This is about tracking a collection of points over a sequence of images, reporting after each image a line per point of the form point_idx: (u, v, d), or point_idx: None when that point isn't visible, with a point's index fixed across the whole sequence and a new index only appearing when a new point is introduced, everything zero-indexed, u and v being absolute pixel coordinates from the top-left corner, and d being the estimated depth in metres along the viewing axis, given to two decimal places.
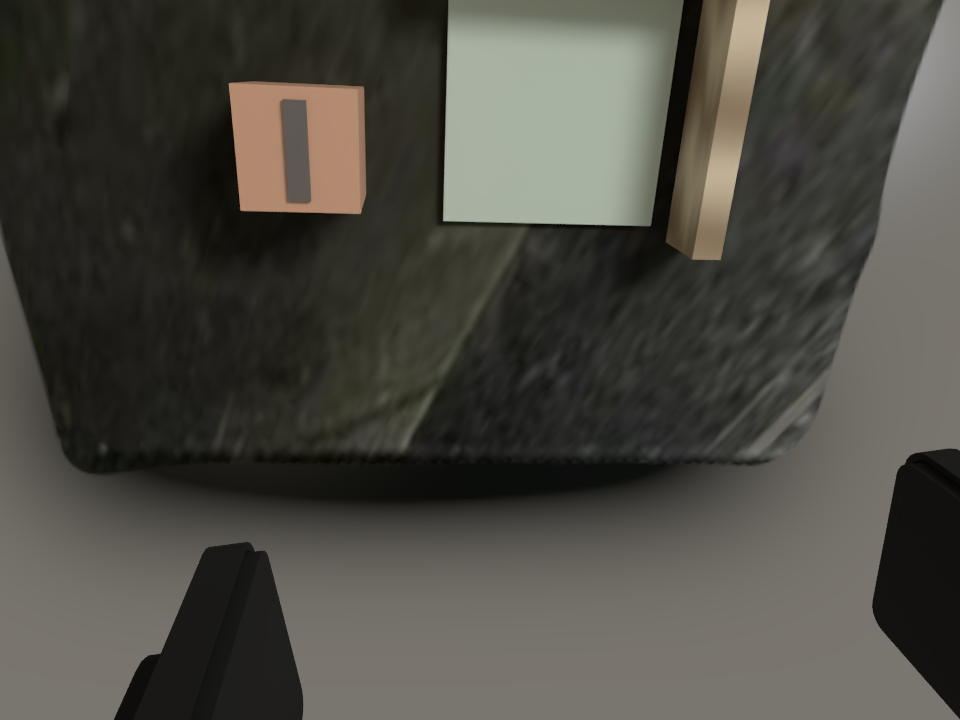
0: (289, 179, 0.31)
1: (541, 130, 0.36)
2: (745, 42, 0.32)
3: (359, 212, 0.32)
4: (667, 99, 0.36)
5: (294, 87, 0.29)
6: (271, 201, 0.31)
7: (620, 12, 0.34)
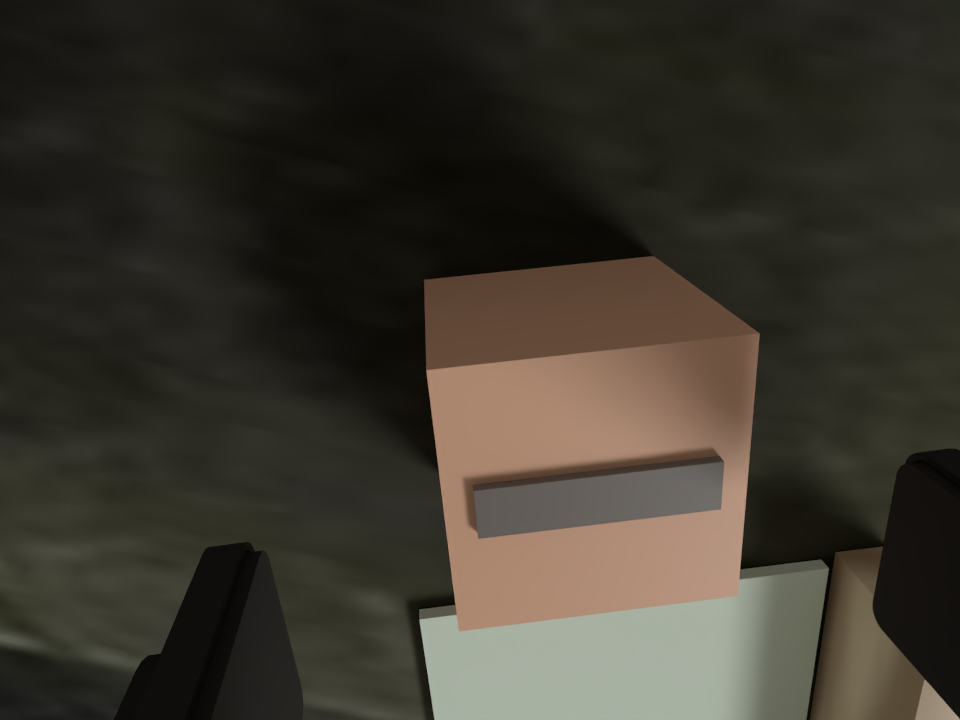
0: (531, 489, 0.12)
1: None
2: None
3: (461, 627, 0.13)
4: None
5: (744, 477, 0.12)
6: (464, 443, 0.11)
7: None
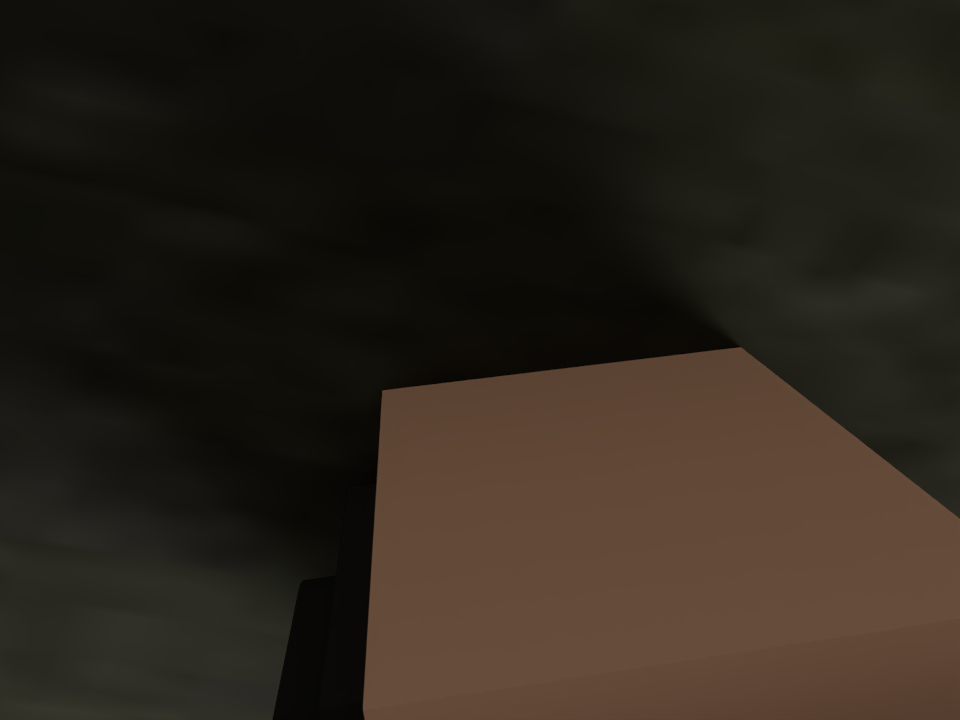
0: None
1: None
2: None
3: None
4: None
5: None
6: None
7: None
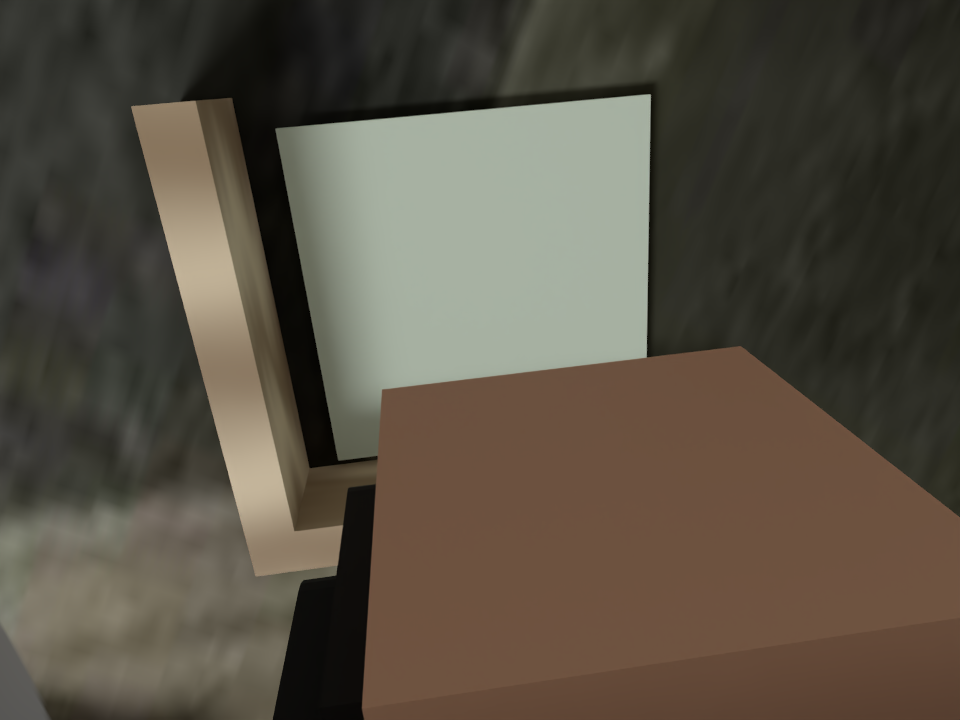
0: None
1: (502, 261, 0.23)
2: (252, 461, 0.21)
3: None
4: (316, 334, 0.24)
5: None
6: None
7: None
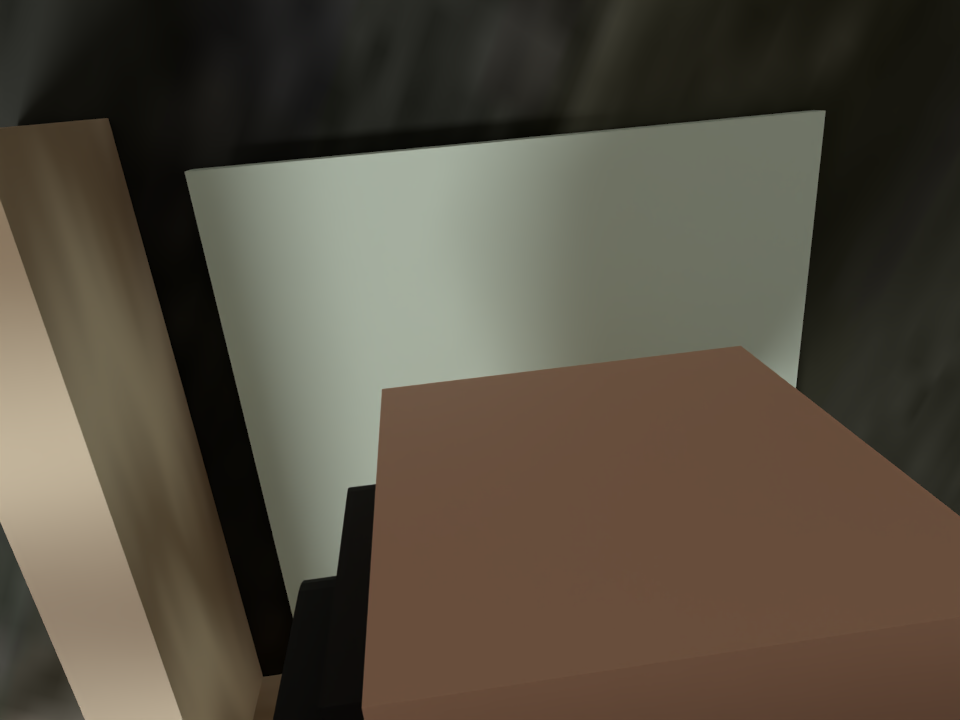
0: None
1: None
2: None
3: None
4: (267, 494, 0.15)
5: None
6: None
7: None
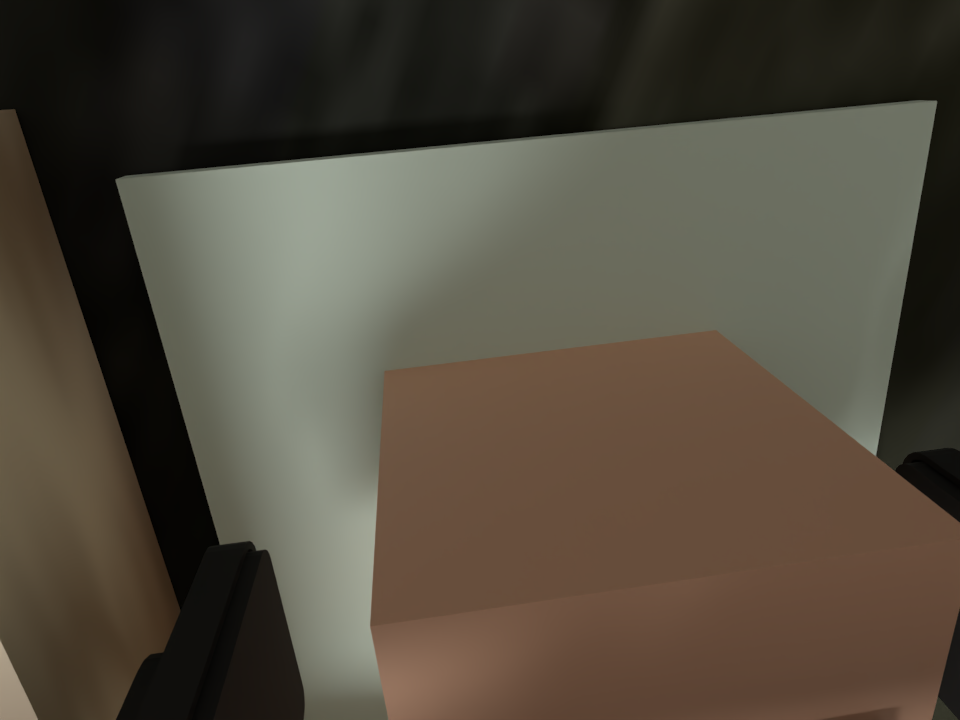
0: None
1: None
2: None
3: None
4: None
5: None
6: None
7: None
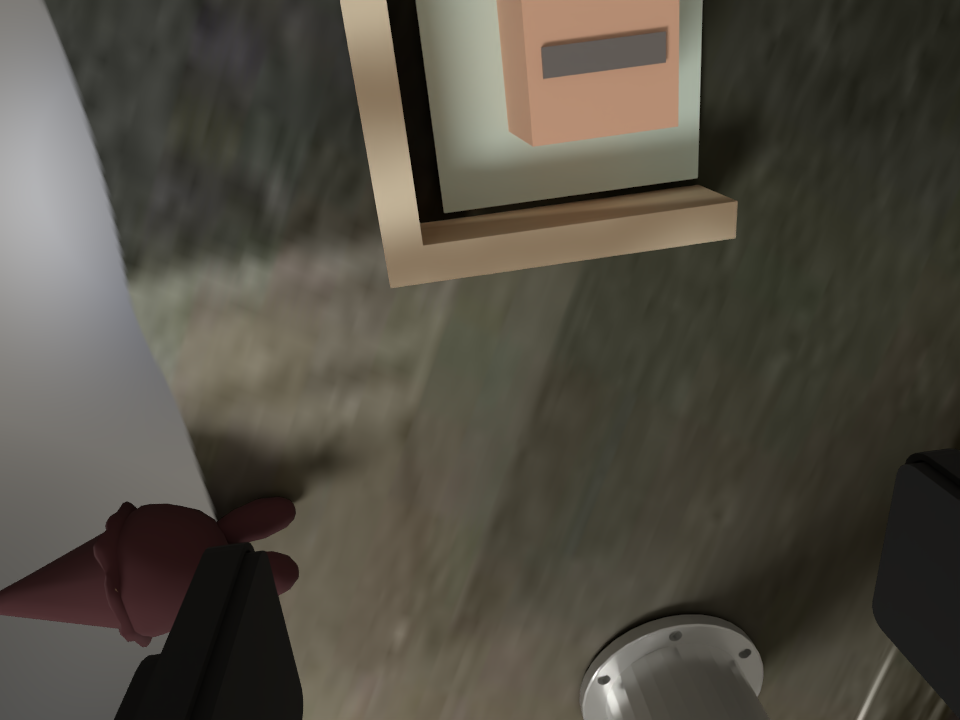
0: (570, 46, 0.23)
1: None
2: (392, 178, 0.26)
3: (534, 145, 0.25)
4: (430, 92, 0.28)
5: (677, 46, 0.24)
6: (536, 21, 0.23)
7: (511, 177, 0.30)
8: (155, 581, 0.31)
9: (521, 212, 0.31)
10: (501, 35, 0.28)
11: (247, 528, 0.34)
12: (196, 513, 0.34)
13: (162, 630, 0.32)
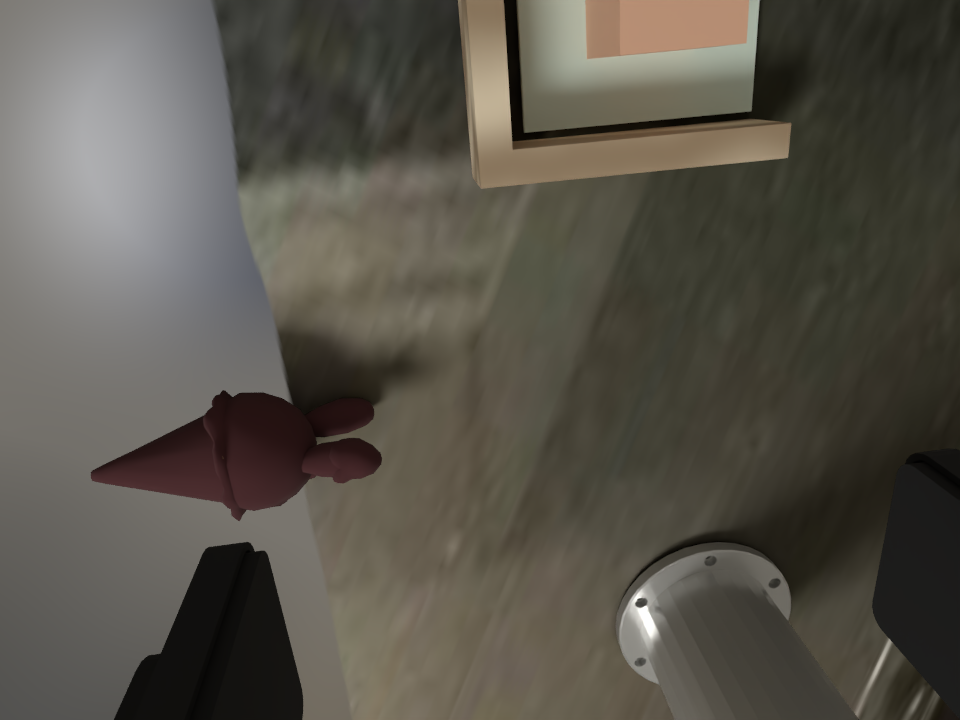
0: None
1: None
2: (491, 85, 0.30)
3: (621, 53, 0.28)
4: (520, 20, 0.32)
5: None
6: None
7: (586, 102, 0.34)
8: (257, 452, 0.34)
9: (593, 134, 0.34)
10: None
11: (332, 421, 0.37)
12: (288, 403, 0.37)
13: (258, 502, 0.34)
